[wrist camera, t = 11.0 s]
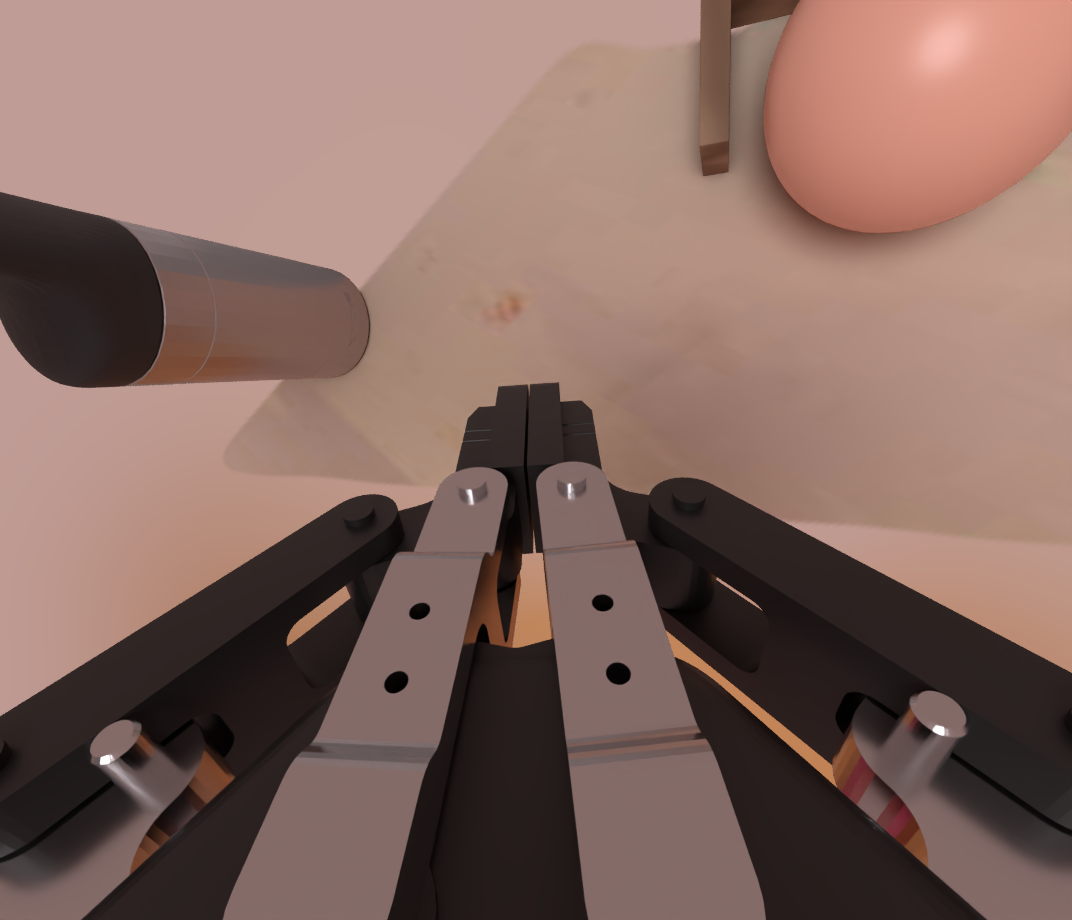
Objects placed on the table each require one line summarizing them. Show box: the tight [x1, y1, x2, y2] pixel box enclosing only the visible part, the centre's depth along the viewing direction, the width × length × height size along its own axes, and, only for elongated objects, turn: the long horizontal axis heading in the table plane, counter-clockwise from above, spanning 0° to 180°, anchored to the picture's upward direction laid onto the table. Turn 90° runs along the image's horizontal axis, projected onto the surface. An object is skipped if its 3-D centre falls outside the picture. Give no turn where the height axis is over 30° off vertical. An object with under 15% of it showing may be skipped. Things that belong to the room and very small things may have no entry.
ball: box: [764, 0, 1072, 233], centre depth 24 cm, size 13×13×13 cm
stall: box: [700, 0, 800, 176], centre depth 27 cm, size 19×10×5 cm, turn 94°
